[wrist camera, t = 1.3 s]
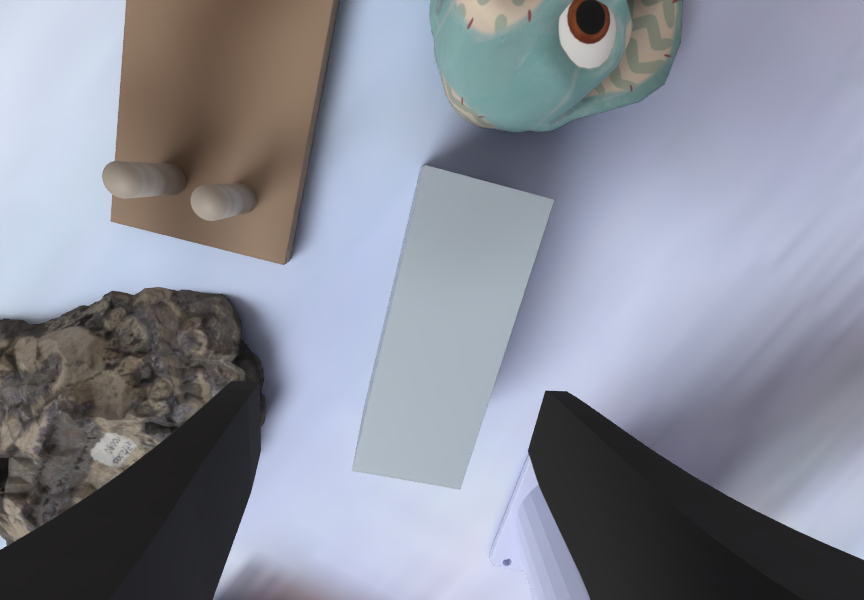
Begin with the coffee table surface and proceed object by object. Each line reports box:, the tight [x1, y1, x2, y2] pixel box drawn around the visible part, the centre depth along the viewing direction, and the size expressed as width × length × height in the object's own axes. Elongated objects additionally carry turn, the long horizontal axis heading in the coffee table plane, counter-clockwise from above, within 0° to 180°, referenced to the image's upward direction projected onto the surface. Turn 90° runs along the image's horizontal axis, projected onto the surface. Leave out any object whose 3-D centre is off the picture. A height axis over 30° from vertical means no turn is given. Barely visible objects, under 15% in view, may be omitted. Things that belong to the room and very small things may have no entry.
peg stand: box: [102, 0, 339, 265], centre depth 15 cm, size 7×13×4 cm, turn 164°
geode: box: [0, 287, 266, 546], centre depth 19 cm, size 19×4×15 cm
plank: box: [352, 165, 554, 489], centre depth 18 cm, size 4×12×5 cm, turn 166°
